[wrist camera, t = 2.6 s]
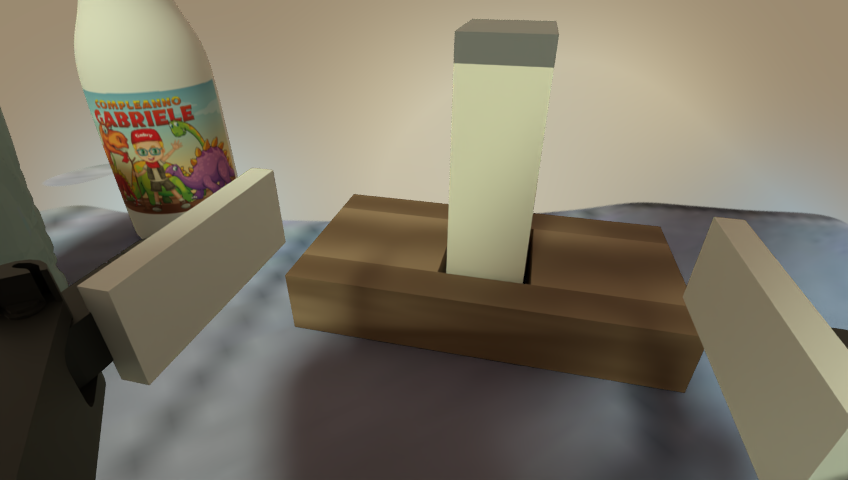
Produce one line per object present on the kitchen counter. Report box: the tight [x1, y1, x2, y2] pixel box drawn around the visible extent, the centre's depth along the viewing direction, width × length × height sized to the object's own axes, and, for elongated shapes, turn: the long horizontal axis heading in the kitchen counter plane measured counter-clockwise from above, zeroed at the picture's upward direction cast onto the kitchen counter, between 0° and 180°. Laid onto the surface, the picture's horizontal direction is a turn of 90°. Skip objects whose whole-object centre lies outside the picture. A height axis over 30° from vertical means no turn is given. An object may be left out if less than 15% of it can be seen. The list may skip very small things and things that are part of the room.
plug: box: [446, 19, 559, 284], centre depth 23 cm, size 5×4×15 cm
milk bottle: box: [74, 0, 238, 239], centre depth 30 cm, size 8×8×20 cm
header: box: [285, 194, 704, 393], centre depth 26 cm, size 10×20×4 cm, turn 77°
